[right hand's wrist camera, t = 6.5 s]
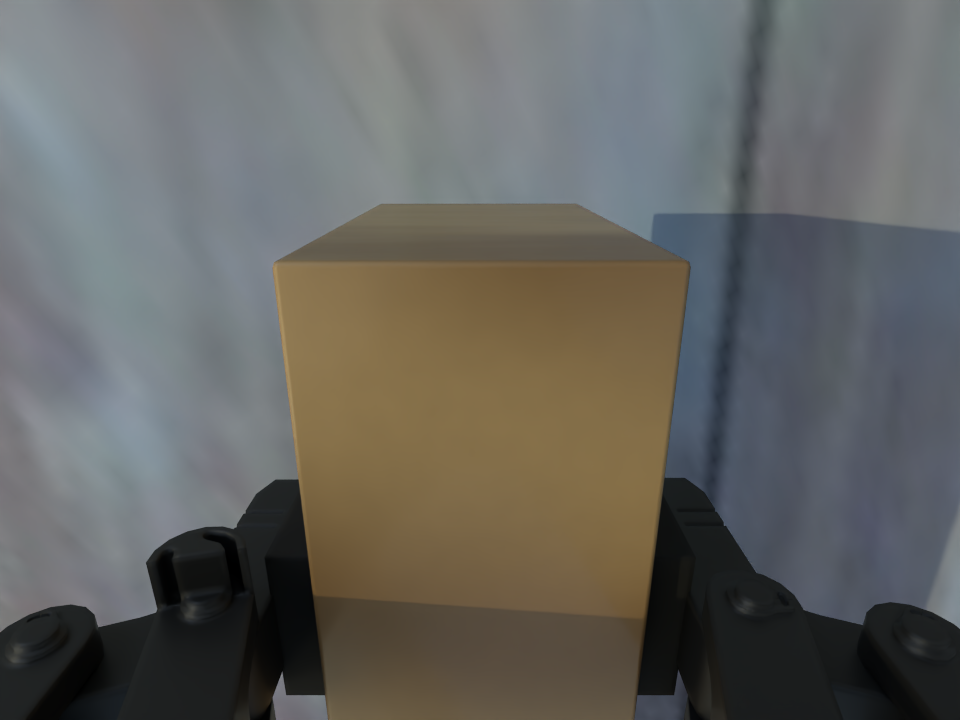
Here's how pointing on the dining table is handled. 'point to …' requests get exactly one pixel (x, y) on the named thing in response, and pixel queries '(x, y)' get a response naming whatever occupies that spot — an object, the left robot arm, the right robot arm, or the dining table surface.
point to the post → (481, 455)
